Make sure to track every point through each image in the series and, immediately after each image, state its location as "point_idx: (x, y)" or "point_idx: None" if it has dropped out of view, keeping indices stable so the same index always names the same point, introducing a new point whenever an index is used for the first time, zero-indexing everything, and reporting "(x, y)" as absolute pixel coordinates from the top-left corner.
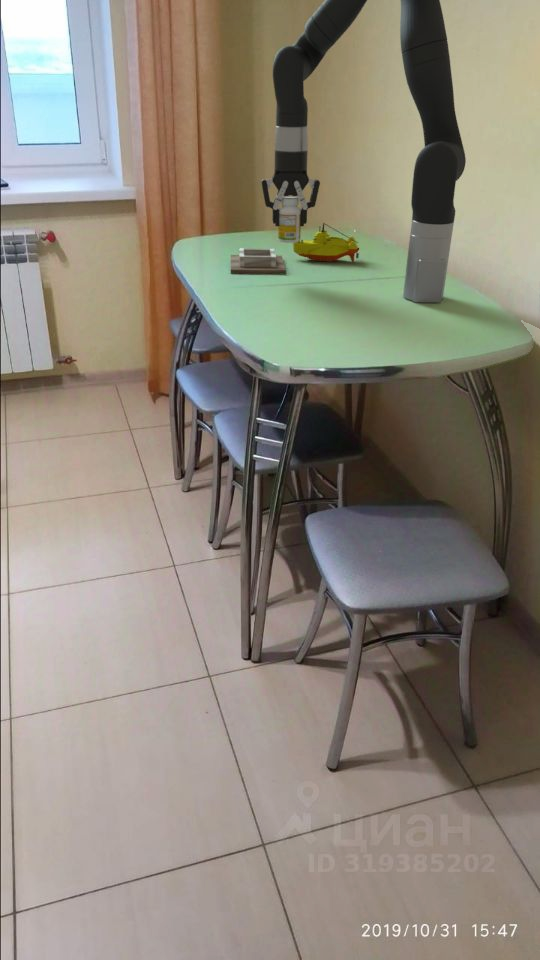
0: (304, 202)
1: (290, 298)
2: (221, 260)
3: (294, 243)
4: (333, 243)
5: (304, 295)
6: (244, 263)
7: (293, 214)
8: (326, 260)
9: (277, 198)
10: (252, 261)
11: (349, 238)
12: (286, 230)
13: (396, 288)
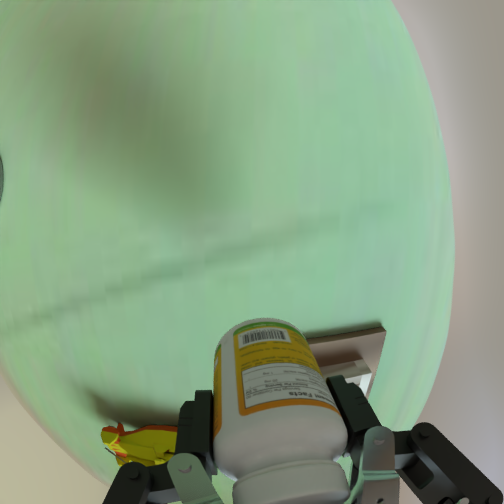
0: (187, 490)
1: (246, 106)
2: (376, 403)
3: None
4: (149, 451)
5: (205, 138)
6: (355, 365)
7: (261, 412)
8: (166, 425)
9: (393, 475)
10: (339, 371)
11: (119, 458)
12: (287, 347)
13: (12, 242)
